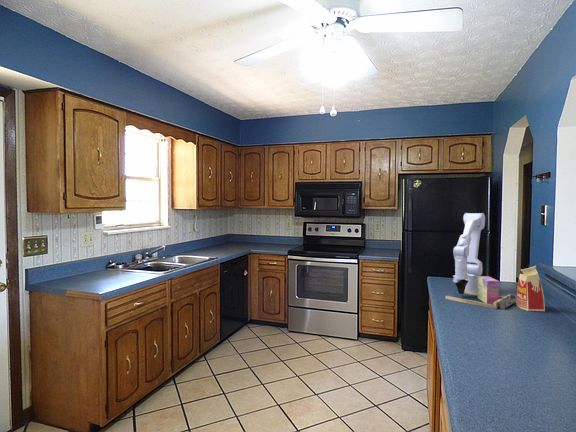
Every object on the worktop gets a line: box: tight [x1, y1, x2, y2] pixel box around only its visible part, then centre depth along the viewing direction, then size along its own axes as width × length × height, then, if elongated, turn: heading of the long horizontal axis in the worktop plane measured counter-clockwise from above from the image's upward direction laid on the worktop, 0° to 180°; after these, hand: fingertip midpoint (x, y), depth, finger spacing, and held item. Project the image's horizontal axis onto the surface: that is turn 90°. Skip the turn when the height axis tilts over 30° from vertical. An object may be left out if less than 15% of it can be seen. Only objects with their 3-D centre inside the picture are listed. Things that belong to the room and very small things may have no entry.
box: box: [477, 275, 500, 305], centre depth 176 cm, size 10×6×12 cm, turn 174°
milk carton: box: [515, 265, 546, 312], centre depth 164 cm, size 9×9×20 cm
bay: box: [445, 290, 517, 311], centre depth 178 cm, size 19×28×4 cm
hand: (461, 293), depth 185 cm, fingers closed
